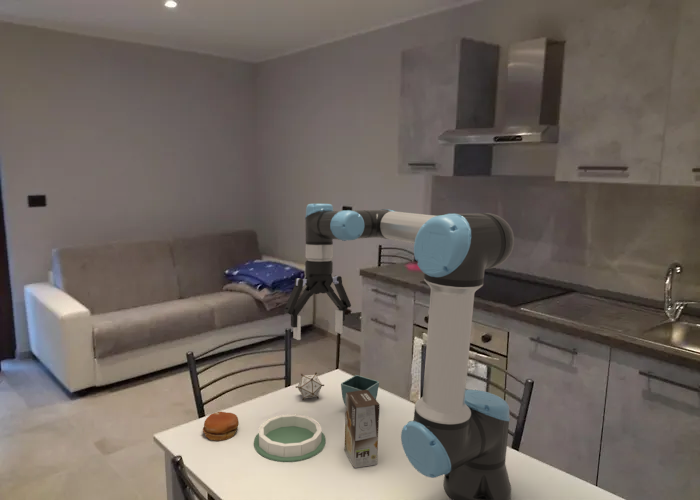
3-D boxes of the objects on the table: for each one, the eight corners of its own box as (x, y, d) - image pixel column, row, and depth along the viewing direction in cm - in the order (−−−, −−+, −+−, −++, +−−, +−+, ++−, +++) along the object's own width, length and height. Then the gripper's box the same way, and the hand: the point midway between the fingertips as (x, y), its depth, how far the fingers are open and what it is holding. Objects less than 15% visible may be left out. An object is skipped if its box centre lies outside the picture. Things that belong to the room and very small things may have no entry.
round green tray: (339, 444, 133) (340, 432, 133) (279, 471, 121) (280, 457, 120) (298, 417, 147) (298, 406, 147) (240, 438, 135) (240, 426, 134)
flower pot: (339, 411, 152) (339, 383, 151) (355, 401, 160) (356, 374, 158) (363, 420, 147) (364, 391, 146) (378, 409, 155) (380, 381, 153)
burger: (218, 445, 132) (218, 429, 131) (196, 434, 137) (195, 418, 136) (246, 430, 140) (246, 415, 139) (224, 420, 145) (224, 405, 144)
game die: (313, 411, 160) (318, 395, 153) (289, 399, 161) (293, 383, 154) (324, 388, 166) (330, 373, 159) (301, 377, 167) (306, 361, 160)
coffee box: (378, 464, 125) (380, 404, 122) (353, 468, 123) (356, 407, 120) (365, 445, 134) (368, 389, 131) (342, 449, 132) (344, 391, 129)
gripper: (348, 257, 148) (347, 328, 149) (271, 260, 134) (271, 338, 135) (363, 259, 142) (362, 332, 143) (284, 262, 128) (284, 344, 129)
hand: (318, 335), depth 139 cm, fingers open, 13 cm apart
